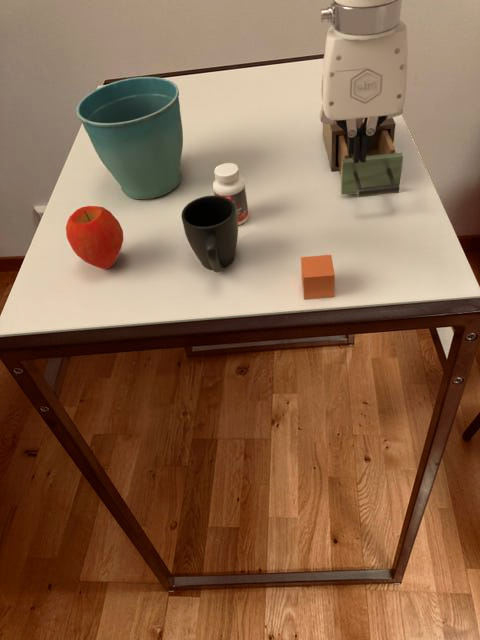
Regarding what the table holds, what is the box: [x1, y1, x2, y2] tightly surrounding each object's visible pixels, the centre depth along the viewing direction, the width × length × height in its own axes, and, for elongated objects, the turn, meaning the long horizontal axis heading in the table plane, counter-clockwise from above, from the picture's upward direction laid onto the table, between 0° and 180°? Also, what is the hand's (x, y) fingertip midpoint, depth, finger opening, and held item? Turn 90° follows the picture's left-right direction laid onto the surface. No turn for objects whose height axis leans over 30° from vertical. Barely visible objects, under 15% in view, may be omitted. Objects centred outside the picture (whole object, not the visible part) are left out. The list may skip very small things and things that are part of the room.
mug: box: [180, 194, 239, 273], centre depth 78 cm, size 8×12×10 cm
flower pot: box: [75, 76, 184, 200], centre depth 94 cm, size 18×18×17 cm
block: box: [300, 254, 336, 300], centre depth 74 cm, size 4×4×4 cm
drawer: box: [336, 129, 404, 198], centre depth 88 cm, size 19×10×6 cm, turn 1°
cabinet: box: [322, 117, 396, 172], centre depth 97 cm, size 14×11×8 cm
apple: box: [65, 205, 124, 270], centre depth 81 cm, size 9×8×11 cm
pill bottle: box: [212, 162, 250, 226], centre depth 86 cm, size 5×5×10 cm
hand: (358, 157), depth 72 cm, fingers closed
